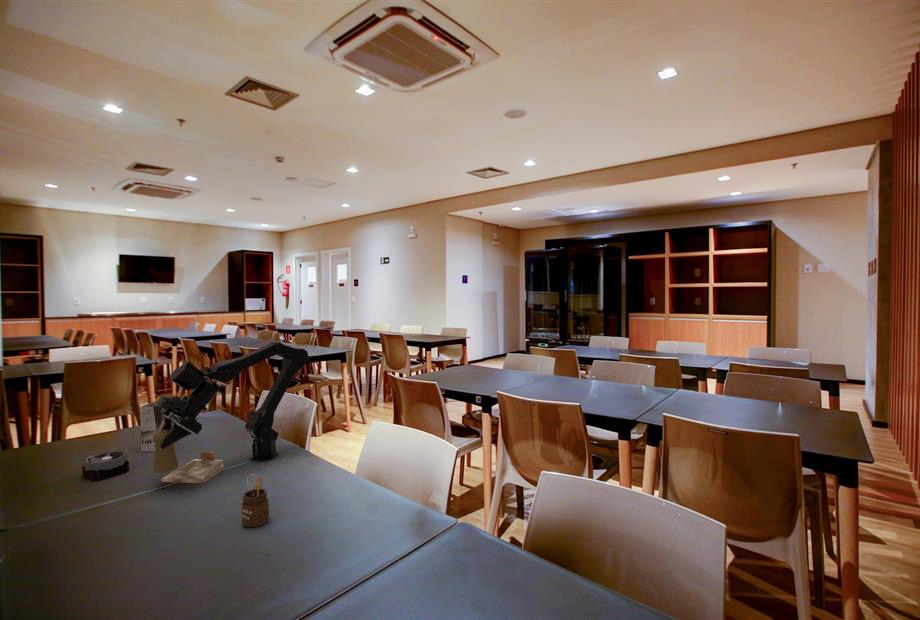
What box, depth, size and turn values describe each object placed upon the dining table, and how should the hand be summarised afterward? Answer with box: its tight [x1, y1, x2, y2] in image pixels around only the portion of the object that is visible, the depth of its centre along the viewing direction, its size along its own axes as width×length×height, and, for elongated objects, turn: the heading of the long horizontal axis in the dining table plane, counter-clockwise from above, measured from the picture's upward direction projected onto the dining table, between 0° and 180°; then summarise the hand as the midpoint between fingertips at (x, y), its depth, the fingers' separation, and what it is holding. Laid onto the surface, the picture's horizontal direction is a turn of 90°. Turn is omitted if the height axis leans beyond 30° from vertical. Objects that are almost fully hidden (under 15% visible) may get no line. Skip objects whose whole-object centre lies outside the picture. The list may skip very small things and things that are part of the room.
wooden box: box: [160, 451, 225, 484], centre depth 133 cm, size 13×10×6 cm
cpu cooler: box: [82, 450, 130, 483], centre depth 135 cm, size 10×6×10 cm
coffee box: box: [139, 400, 175, 452], centre depth 158 cm, size 9×6×16 cm
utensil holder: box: [241, 473, 270, 528], centre depth 105 cm, size 6×6×12 cm
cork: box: [152, 430, 179, 474], centre depth 125 cm, size 6×6×11 cm
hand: (158, 445), depth 124 cm, fingers closed on cork, 5 cm apart
